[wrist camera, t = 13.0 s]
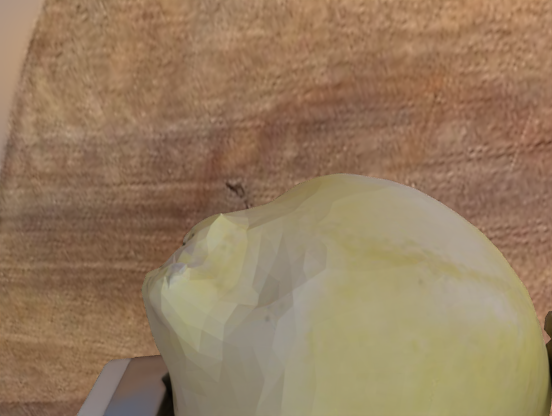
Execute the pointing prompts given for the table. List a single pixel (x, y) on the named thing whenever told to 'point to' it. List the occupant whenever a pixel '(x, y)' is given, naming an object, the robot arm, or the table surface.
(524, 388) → the fruit
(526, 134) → the table surface
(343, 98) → the table surface
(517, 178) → the table surface
